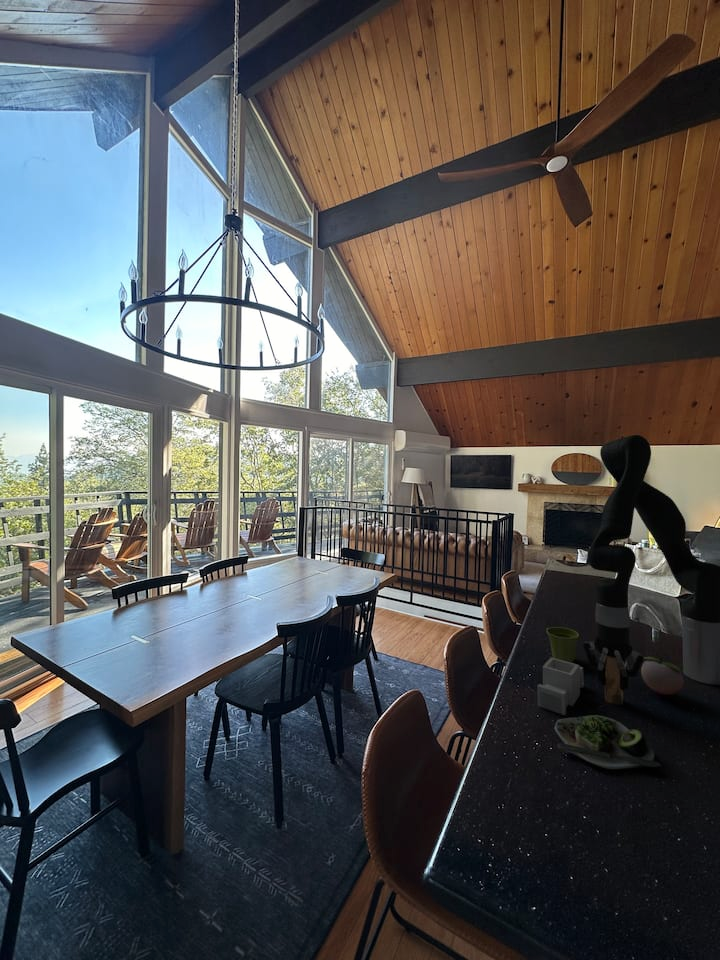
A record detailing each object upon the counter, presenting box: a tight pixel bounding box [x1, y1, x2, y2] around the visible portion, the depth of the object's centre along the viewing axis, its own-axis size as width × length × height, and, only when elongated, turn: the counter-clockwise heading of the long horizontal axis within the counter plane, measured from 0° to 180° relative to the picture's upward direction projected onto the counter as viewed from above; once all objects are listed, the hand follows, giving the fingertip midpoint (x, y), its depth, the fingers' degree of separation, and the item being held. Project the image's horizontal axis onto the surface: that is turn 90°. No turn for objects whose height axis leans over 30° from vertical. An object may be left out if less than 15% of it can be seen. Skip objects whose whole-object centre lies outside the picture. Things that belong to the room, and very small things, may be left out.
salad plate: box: [553, 714, 662, 770], centre depth 87 cm, size 19×18×5 cm
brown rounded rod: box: [604, 655, 624, 706], centre depth 104 cm, size 4×4×12 cm
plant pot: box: [545, 626, 580, 663], centre depth 129 cm, size 9×9×9 cm
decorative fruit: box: [640, 656, 685, 696], centre depth 107 cm, size 9×8×10 cm
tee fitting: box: [536, 657, 584, 716], centre depth 107 cm, size 7×18×8 cm, turn 138°
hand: (613, 686), depth 105 cm, fingers closed on brown rounded rod, 4 cm apart
